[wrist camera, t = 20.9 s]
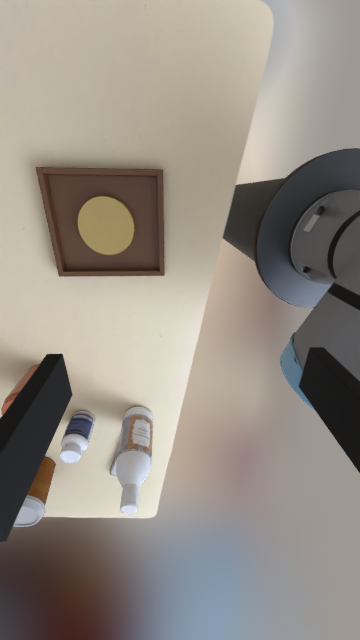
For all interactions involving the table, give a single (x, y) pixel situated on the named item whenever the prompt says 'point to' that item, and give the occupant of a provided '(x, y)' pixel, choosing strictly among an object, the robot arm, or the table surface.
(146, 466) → the bath foam
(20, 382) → the jar
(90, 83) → the table surface
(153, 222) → the tray
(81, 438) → the pill bottle
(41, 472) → the disposable coffee cup
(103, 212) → the lid
